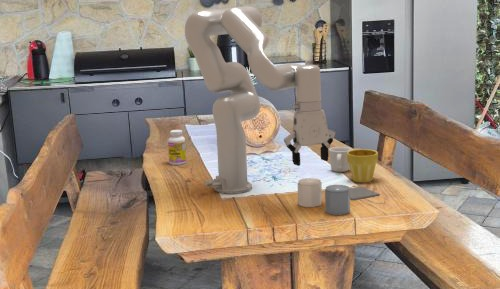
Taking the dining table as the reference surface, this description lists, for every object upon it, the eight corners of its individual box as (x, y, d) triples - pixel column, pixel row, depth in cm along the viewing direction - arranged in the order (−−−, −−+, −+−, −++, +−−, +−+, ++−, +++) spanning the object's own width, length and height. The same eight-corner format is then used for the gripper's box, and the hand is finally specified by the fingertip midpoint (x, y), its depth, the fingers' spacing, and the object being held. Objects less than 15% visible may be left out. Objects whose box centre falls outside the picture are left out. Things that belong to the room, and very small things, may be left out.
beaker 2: (334, 216, 209) (333, 192, 208) (321, 210, 215) (321, 186, 214) (353, 212, 212) (353, 188, 211) (341, 206, 218) (340, 183, 217)
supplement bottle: (166, 164, 278) (164, 132, 276) (174, 160, 284) (172, 128, 281) (181, 165, 276) (179, 132, 273) (189, 161, 282) (187, 129, 279)
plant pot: (359, 185, 240) (358, 157, 238) (341, 179, 249) (340, 151, 247) (384, 181, 245) (384, 153, 243) (365, 174, 254) (365, 147, 252)
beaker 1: (305, 208, 218) (305, 185, 216) (294, 202, 224) (294, 180, 222) (325, 204, 221) (325, 181, 219) (313, 199, 227) (313, 177, 225)
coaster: (352, 200, 224) (352, 198, 224) (335, 192, 233) (335, 191, 233) (379, 195, 228) (379, 193, 228) (361, 188, 237) (361, 186, 237)
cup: (350, 175, 253) (350, 153, 252) (327, 175, 255) (327, 153, 253) (352, 168, 264) (352, 146, 262) (330, 167, 265) (330, 146, 263)
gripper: (289, 111, 209) (291, 169, 212) (340, 104, 216) (341, 160, 219) (277, 108, 216) (279, 164, 219) (326, 102, 223) (328, 156, 226)
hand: (310, 162), depth 219 cm, fingers open, 9 cm apart
